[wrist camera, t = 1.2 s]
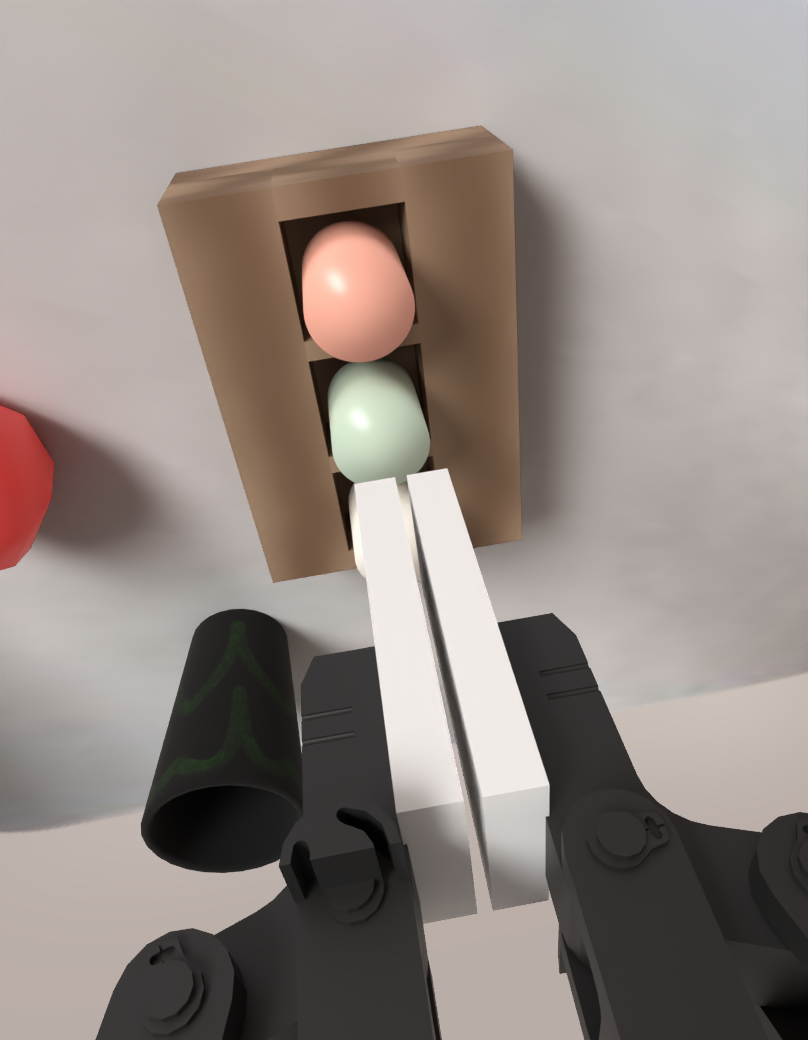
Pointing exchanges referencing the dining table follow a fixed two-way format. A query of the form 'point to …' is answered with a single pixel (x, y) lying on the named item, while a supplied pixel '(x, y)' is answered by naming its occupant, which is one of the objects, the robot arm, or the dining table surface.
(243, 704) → the cup
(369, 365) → the pale green rounded piece
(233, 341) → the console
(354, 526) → the white egg
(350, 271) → the coral button
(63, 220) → the dining table surface
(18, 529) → the apple
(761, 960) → the robot arm
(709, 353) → the dining table surface
